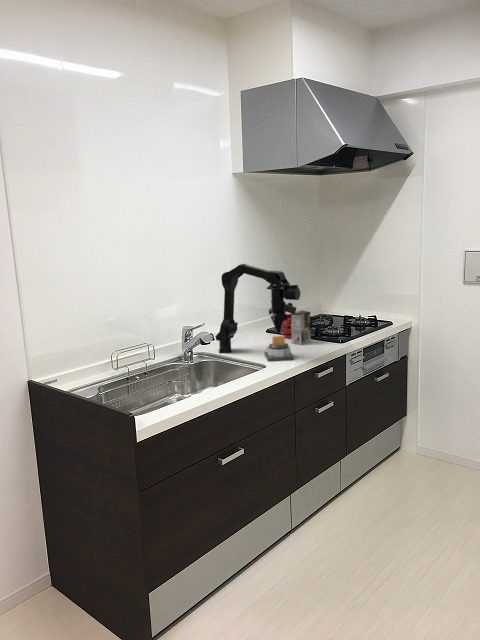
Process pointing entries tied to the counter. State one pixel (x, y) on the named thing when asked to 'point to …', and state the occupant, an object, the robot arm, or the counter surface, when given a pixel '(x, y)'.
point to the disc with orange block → (278, 342)
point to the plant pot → (287, 327)
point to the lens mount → (278, 354)
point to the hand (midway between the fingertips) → (278, 332)
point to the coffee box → (300, 327)
